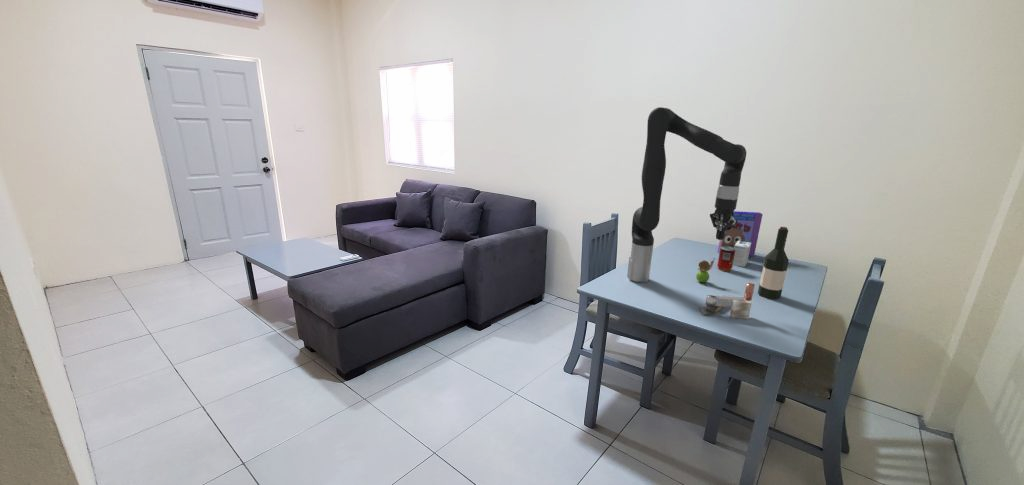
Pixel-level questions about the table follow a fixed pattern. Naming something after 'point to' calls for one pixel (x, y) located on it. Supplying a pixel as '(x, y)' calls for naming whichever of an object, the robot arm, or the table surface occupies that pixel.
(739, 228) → the cereal box
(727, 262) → the soda can
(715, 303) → the bar
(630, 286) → the table surface
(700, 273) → the snail figurine
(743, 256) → the light bulb box
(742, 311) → the base
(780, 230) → the wine bottle
